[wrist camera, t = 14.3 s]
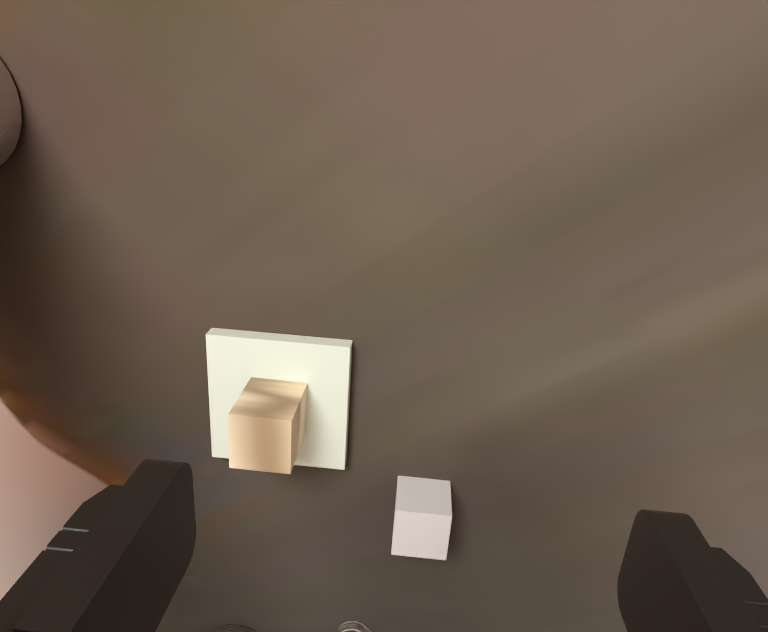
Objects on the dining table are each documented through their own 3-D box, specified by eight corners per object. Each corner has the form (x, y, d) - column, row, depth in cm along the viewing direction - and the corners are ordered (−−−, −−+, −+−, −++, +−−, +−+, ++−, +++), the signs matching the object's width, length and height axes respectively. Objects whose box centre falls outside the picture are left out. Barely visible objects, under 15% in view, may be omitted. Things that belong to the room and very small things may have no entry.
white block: (394, 516, 45) (391, 554, 42) (398, 475, 44) (395, 510, 40) (444, 522, 45) (446, 560, 41) (450, 480, 44) (452, 516, 40)
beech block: (251, 426, 42) (229, 467, 37) (251, 377, 40) (228, 413, 36) (305, 431, 41) (290, 474, 37) (307, 382, 40) (291, 420, 35)
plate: (217, 447, 44) (212, 456, 43) (212, 327, 40) (205, 334, 39) (346, 460, 44) (344, 469, 42) (352, 340, 40) (350, 347, 39)
